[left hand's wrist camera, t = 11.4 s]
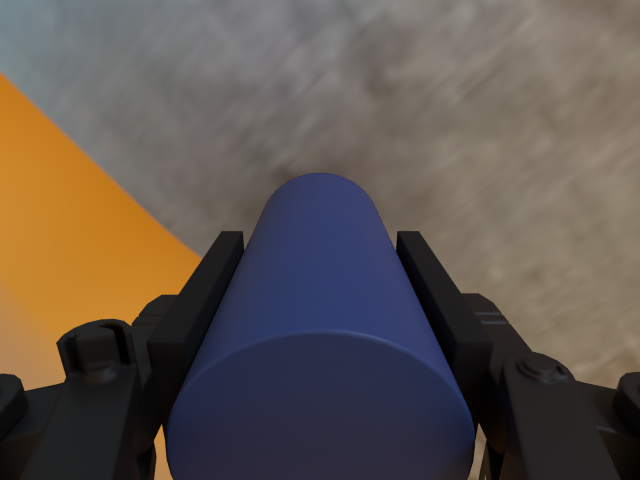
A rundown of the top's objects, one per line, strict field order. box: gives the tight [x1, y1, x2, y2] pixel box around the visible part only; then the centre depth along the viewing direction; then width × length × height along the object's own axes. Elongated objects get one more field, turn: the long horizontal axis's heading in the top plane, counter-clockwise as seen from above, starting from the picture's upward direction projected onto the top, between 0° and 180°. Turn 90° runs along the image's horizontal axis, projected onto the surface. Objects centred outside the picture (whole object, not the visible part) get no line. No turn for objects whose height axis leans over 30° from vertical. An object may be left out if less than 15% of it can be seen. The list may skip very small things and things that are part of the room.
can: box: [165, 173, 475, 480], centre depth 13 cm, size 6×6×12 cm
